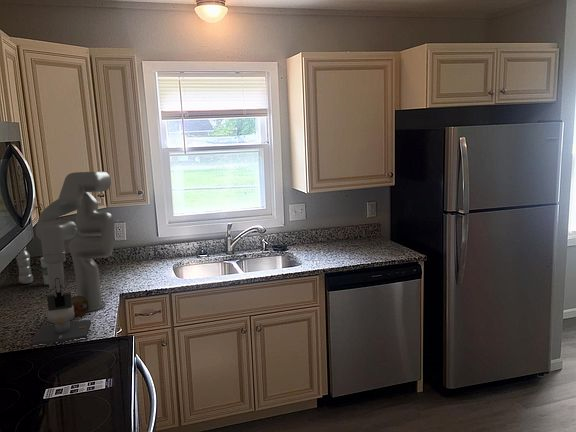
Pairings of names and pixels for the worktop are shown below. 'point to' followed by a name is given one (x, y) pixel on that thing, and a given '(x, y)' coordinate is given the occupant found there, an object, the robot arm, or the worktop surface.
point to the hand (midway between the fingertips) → (60, 304)
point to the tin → (80, 305)
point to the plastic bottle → (24, 267)
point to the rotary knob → (60, 309)
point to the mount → (62, 332)
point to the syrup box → (44, 272)
